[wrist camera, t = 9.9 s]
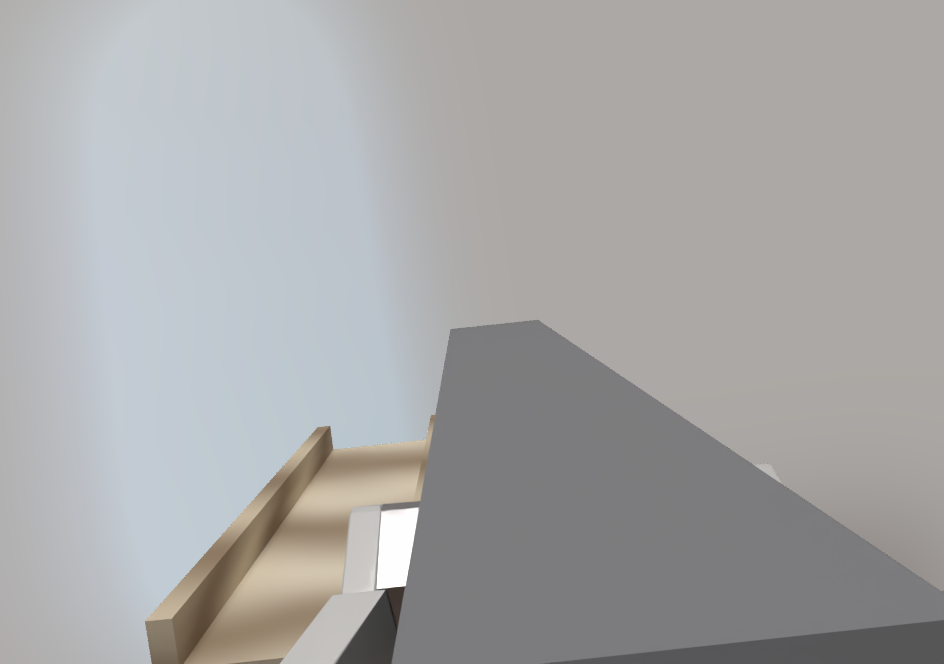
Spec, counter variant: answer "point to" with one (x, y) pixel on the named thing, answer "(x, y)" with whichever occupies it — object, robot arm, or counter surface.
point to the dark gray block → (626, 533)
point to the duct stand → (281, 554)
